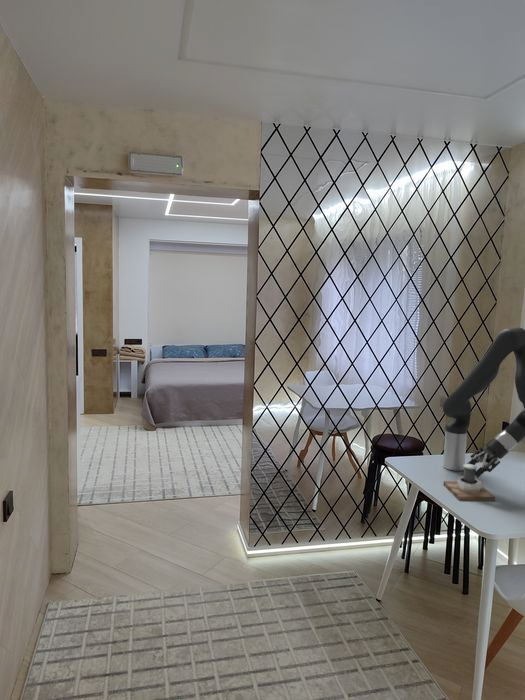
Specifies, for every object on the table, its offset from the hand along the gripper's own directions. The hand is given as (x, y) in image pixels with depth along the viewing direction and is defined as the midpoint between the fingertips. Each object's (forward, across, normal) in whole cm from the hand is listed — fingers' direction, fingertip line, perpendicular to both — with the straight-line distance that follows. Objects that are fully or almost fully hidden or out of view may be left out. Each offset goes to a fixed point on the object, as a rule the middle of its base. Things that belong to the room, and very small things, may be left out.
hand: (471, 471), depth 201 cm
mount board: (+6, 0, +6) cm, 9 cm away
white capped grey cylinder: (+5, 0, +5) cm, 7 cm away
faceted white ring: (+5, 0, +5) cm, 7 cm away
